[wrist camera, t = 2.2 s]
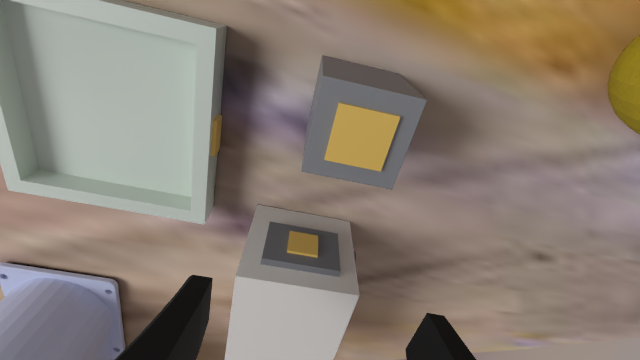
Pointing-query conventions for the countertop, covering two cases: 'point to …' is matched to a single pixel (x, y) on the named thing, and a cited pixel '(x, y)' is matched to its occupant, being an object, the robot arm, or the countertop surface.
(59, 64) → the parts tray
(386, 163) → the block
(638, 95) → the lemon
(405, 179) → the countertop surface
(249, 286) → the control box
